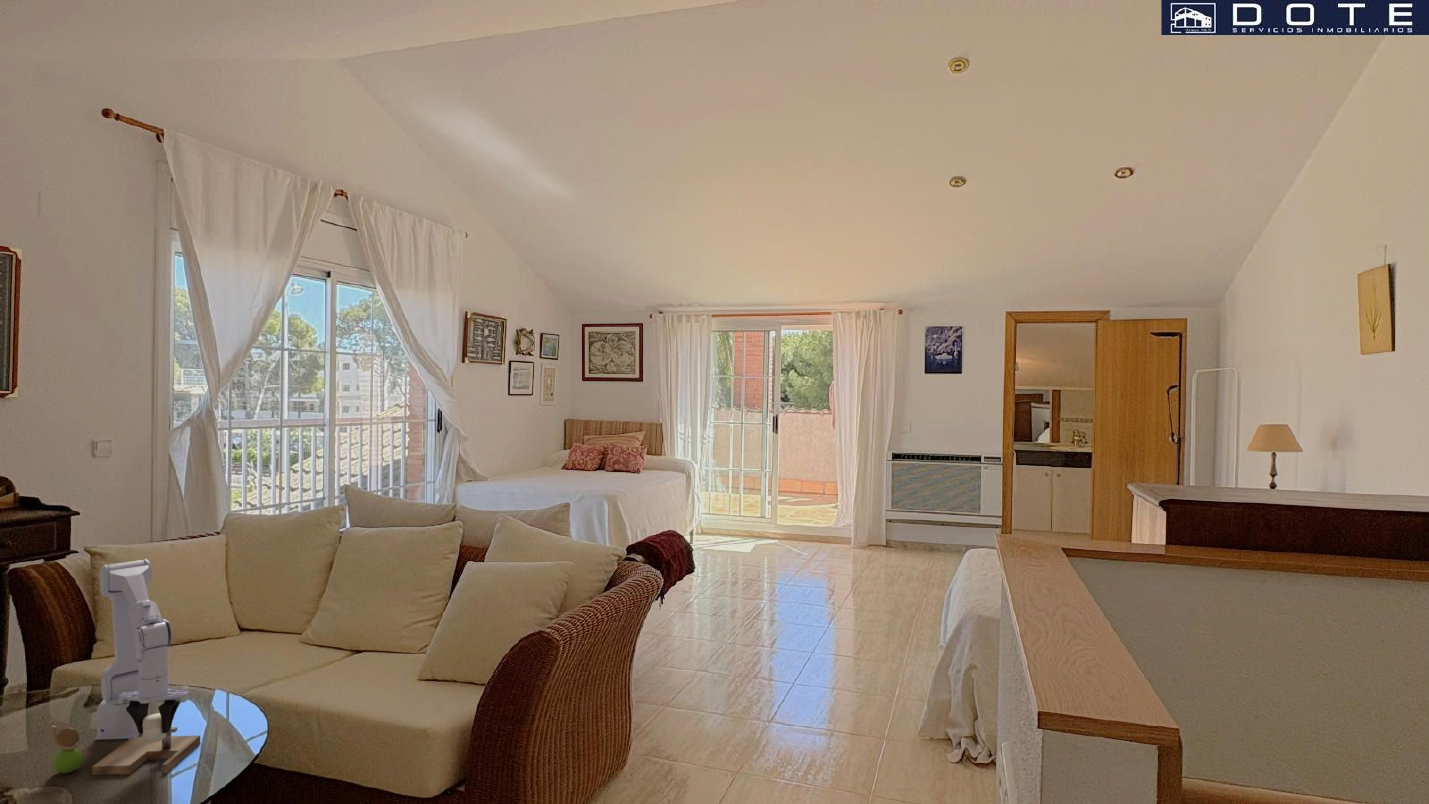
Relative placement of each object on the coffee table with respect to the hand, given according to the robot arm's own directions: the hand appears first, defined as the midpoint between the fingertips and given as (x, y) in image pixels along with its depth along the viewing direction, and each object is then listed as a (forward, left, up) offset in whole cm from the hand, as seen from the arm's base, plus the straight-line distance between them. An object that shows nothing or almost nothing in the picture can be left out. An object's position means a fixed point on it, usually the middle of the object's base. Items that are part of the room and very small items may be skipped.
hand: (154, 731), depth 185 cm
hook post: (0, +4, -6) cm, 8 cm away
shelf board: (-4, +4, -8) cm, 9 cm away
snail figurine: (-18, -2, -8) cm, 20 cm away
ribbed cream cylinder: (0, 0, -2) cm, 2 cm away
